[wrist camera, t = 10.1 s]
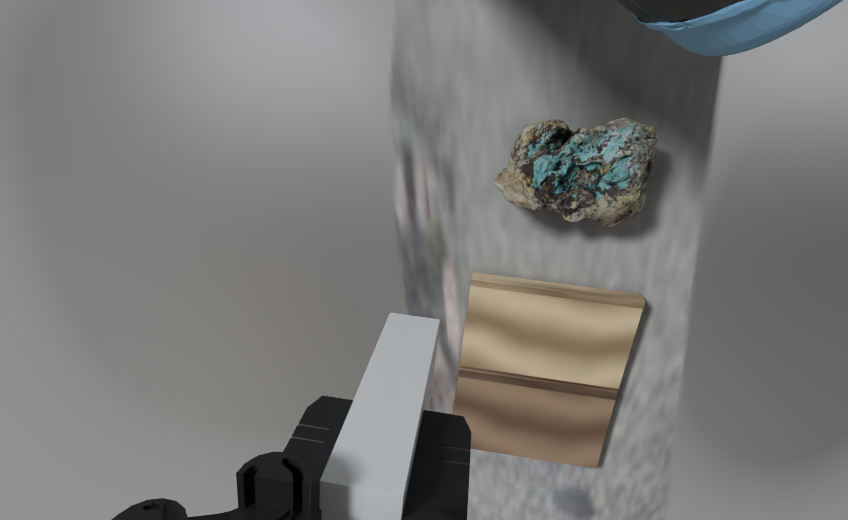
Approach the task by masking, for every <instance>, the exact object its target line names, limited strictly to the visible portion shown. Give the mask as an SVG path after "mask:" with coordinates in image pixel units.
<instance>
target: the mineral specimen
mask: <svg viewBox="0 0 848 520" xmlns="http://www.w3.org/2000/svg"><path fill="white" fill-rule="evenodd" d="M655 130H656V127H653V126H647V125H644V124H642V123H640V122H637V121H634V120H630V119H629V118H618V119H615V120H612V121H610V122H607V124H600V125H598V126H596V127H593V128H588V129H583V128H579V129H578V130H577V131H576V132H574V131H571V130H569V127H568V126H567V124H566V123H565V122H563V121H561V120H550V121H539V122H534V123H532V124H529V125H527V126H525V127H524V129H523V131H522V132H521V133H520V134H518V136H517V138H516V140H515V142H514V144H513V145H512V150H511V158H510V161H509V166H508V168H506V169H503V171H502V172H501V173H499V174H498V175H497V178H496V179H495V180H494V185H495V186H496V187H497V188H498V189H499V190H500V191H501V192H502V194H503V195H504V197H505V199H506V200H507V201H509V202H511V203H513V204H514V205H517V206H520V207H523V208H528V209H532V210H536V209H543V208H546V209H548V210H551V211H554V212H555V213H560V214H561V215H562V216H563V218H564V219H565V220H566V221H570V222H577V221H579V220H581V219H584V220H585V219H587V218H590V219H592V220H596V221H598V223H599V224H600V225H602V226H606V225H607V226H608V227H612V226H616V225H617V224H618V223H620V222H622V221H624V220H627V219H628V218H629V217H633V216H634V215H636V214H637V213H638V212H639V211H641V210H642V208H643V206H644V204H645V201H646V193H645V190H644V188H645V187H646V185H647V182H648V179H649V175H650V171H651V168H652V166H653V164H654V161H655V158H656V154H655V149H654V146H655V145H656V141H657V139H656V134H655Z"/></svg>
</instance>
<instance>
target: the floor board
mask: <svg viewBox="0 0 848 520" xmlns="http://www.w3.org/2000/svg"><path fill="white" fill-rule="evenodd" d="M617 395H618V390H617V389H615V388H609V387H602V386H595V385H588V384H581V383H575V382H568V381H561V380H554V379H547V378H541V377H534V376H527V375H520V374H514V373H507V372H500V371H493V370H486V369H480V368H473V367H466V366H460V364H459V372H458V379H457V386H456V394H455V401H454V409H453V415H459V416H464V418H465V420H466V422H467V424H468V426H469V428H470V430H471V448H472V449H478V450H484V451H490V452H496V453H503V454H509V455H515V456H521V457H528V458H534V459H540V460H546V461H552V462H559V463H565V464H571V465H577V466H583V467H590V468H597V465H598V461H599V458H600V454H601V450H602V447H603V443H604V440H605V436H606V433H607V429H608V425H609V422H610V418H611V415H612V411H613V408H614V404H615V400H616V398H617Z"/></svg>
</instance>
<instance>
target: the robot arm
mask: <svg viewBox="0 0 848 520" xmlns="http://www.w3.org/2000/svg"><path fill="white" fill-rule="evenodd" d="M617 1H618V2H619V3H621V4H622V5H623V6H625V7H626V8H627V9H628V10H630V11H631V13H632V15H633V16H634V18H635V19H636V20H637V21H638V22H639V23H640V24H641V25H646V26H647V27H648V28H650V29H654V30H658V31H660V32H661V33H662V34H664V35H665V36H667V37H668V38H670V39H671V40H672V41H674V42H675V43H677V44H678V45H680V46H681V47H682V48H684V49H685V50H687V51H689V52H692V53H695V54H699V55H702V56H726V55H732V54H736V53H740V52H744V51H747V50H750V49H753V48H756V47H759V46H762V45H764V44H766V43H769V42H771V41H773V40H775V39H777V38H779V37H781V36H784V35H785V34H788V33H789V32H791V31H793V30H795V29H797V28H799V27H801V26H803V25H804V24H806V23H808V22H809V21H811V20H813V19H815V18H816V17H818V16H820V15H821V14H823V13H824V12H826V11H828V10H829V9H831V8H832V7H834V6H835V5H837V4H838V3H840V2H841V1H843V0H617ZM439 321H440V320H439V319H431V318H424V317H417V316H410V315H403V314H396V313H390V314H389V317H388V319H387V322H386V324H385V326H384V329H383V331H382V333H381V336H380V338H379V341H378V343H377V346H376V348H375V350H374V353H373V355H372V357H371V360H370V362H369V365H368V367H367V369H366V372H365V374H364V376H363V379H362V381H361V384H360V386H359V388H358V391H357V393H356V396H355V398H354V400H347V399H341V398H334V397H328V396H321V397H320V398H319V399H318V400H316V401H315V402H314V403H313V404H311V405H310V406H309V407H307V409H306V411H305V413H304V415H303V416H302V418H301V420H300V422H299V425H298V426H297V427H296V429H295V431H294V433H293V435H292V438H291V439H290V440H289V442H288V444H287V446H286V447H285V449H284V451H283V452H271V453H267V454H263V455H259V456H257V457H255V458H253V459H251V460H250V461H248V462H246V463H245V464H244V465H243V466H242V468H241V469H240V470H239V471H238V472H237V473H236V476H237V491H238V508H237V509H235V510H232V511H229V512H224V513H220V514H213V515H204V516H196V517H187V514H186V510H185V508H184V507H182V505H180V504H179V503H178V502H176V501H173V500H169V499H163V498H161V499H152V500H146V501H143V502H141V503H138V504H135V505H133V506H131V507H129V508H128V509H126V510H125V511H123V512H121V513H120V514H118V515H117V516H116V517H114V519H112V520H467V506H468V487H469V469H470V466H469V465H470V449H471V430H470V428H469V426H468V424H467V422H466V420H465V418H464V416H459V415H453V414H446V413H440V412H433V411H428V409H429V404H430V398H431V391H432V383H433V374H434V365H435V356H436V347H437V339H438V330H439Z"/></svg>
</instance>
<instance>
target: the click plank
mask: <svg viewBox="0 0 848 520" xmlns="http://www.w3.org/2000/svg"><path fill="white" fill-rule="evenodd" d="M644 306H645V300H644V298H643V297H642V295H641V294H637V293H629V292H622V291H614V290H606V289H599V288H591V287H583V286H576V285H568V284H560V283H553V282H545V281H538V280H530V279H522V278H515V277H507V276H499V275H492V274H484V273H476V272H472V277H471V284H470V291H469V299H468V306H467V313H466V321H465V328H464V335H463V342H462V350H461V357H460V366H466V367H473V368H480V369H486V370H493V371H500V372H507V373H514V374H520V375H527V376H534V377H541V378H547V379H554V380H561V381H568V382H575V383H581V384H588V385H595V386H602V387H609V388H615V389H619V386H620V383H621V380H622V376H623V373H624V370H625V367H626V363H627V360H628V357H629V353H630V350H631V347H632V344H633V340H634V337H635V334H636V330H637V327H638V324H639V321H640V317H641V314H642V311H643V309H644Z"/></svg>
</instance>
